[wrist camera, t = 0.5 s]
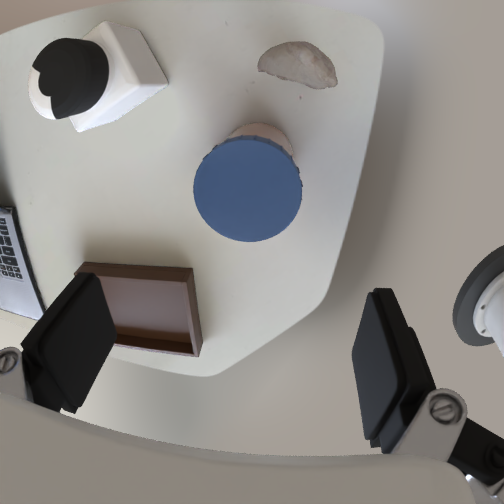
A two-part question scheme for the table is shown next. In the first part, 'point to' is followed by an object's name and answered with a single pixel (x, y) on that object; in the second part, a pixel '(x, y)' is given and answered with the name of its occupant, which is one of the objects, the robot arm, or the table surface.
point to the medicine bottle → (94, 76)
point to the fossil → (299, 64)
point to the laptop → (16, 270)
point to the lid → (248, 188)
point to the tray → (151, 307)
